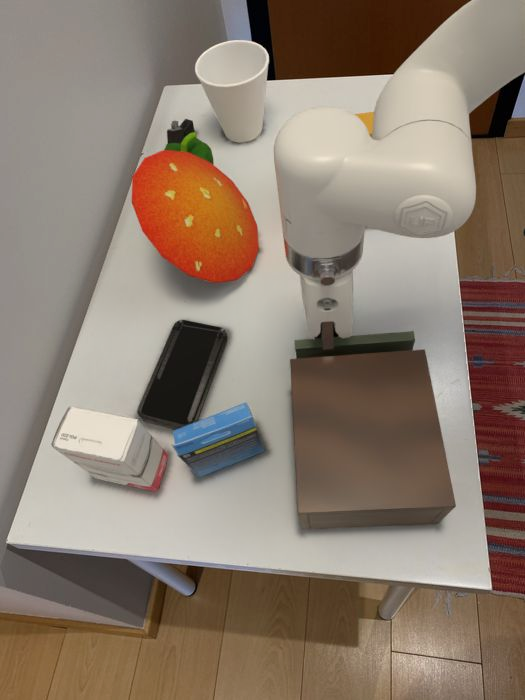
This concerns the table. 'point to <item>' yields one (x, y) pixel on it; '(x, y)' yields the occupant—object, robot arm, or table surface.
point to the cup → (236, 86)
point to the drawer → (356, 345)
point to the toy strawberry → (195, 216)
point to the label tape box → (218, 440)
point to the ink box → (111, 448)
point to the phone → (183, 374)
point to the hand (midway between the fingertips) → (325, 336)
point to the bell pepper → (192, 147)
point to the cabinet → (368, 442)
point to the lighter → (179, 131)
